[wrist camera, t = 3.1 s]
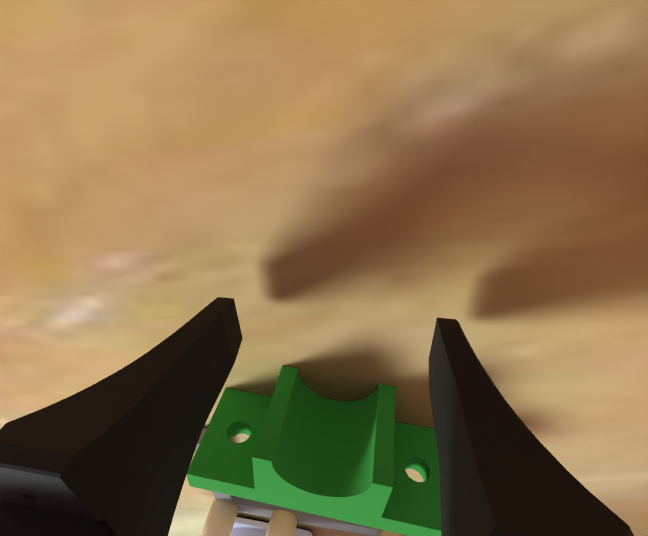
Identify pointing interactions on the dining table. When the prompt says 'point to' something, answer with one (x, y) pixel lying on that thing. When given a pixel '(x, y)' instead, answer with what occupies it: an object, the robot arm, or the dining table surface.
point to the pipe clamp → (323, 457)
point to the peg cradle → (272, 517)
